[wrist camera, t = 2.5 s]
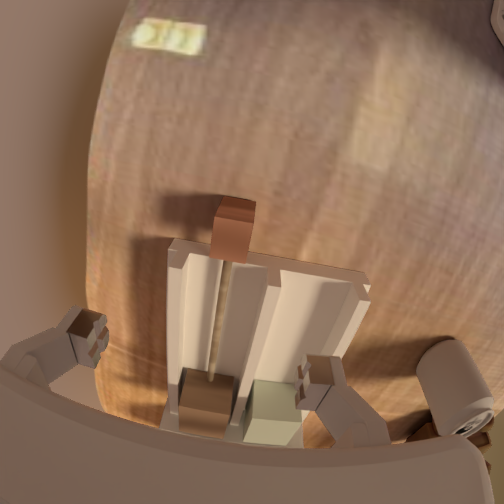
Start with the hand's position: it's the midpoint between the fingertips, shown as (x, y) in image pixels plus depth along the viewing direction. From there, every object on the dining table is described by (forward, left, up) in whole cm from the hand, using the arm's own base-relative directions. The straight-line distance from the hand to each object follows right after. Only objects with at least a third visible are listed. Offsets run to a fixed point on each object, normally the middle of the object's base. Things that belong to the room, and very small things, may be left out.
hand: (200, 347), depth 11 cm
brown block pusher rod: (+11, 0, -14) cm, 17 cm away
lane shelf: (+14, +4, -14) cm, 20 cm away
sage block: (+20, +7, -12) cm, 24 cm away
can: (+13, +28, -14) cm, 34 cm away
